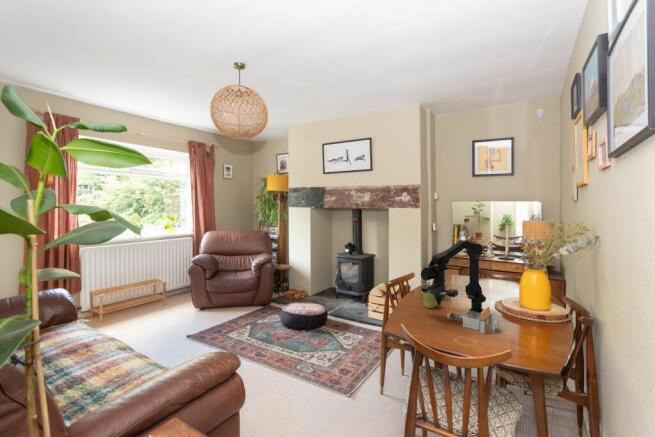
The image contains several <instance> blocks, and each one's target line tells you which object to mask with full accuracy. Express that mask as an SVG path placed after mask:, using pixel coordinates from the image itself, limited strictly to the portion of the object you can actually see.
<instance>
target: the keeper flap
mask: <svg viewBox="0 0 655 437" xmlns="http://www.w3.org/2000/svg"><path fill="white" fill-rule="evenodd" d="M483 309H484V310H483V311H482V312H481V317H482V321H485V322H487V321H488V318H489V317H490V316H491V315H490V314H491V309H490V306H487V307H485V308H483Z"/></svg>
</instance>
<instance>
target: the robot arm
mask: <svg viewBox="0 0 655 437" xmlns="http://www.w3.org/2000/svg"><path fill="white" fill-rule="evenodd" d="M463 250H466V254H467V256H468V258H469V261H468V262H469V267H468V268H469V278H468V279H469V282H468V284H467V285H466V284H465V286H464V288H465V291H464V292H465V294H466V296H467V299H469V300H470V308H469V309H468V310H469V311H472V312H477V313H481V312H482V311H483V310H484V309H485V308H483V303H484V302H486V301H487V297H486V296H485V295H484V293H483V290H482V289H483V288H482V286H481V284H480V282H479V281H480V258H481V256H482V254H483V245H482V244H481V243H478V242H470V241H468V240H465V239H464V240H463V239H460V240H458V242H456V243H455V244H453V245H452V246H450V247H449V248H447V249H446V250H445V251H442V252H439V253H436V254H434V255H433V256H432V257H431V260H430V261H429V264H428V265H427V266H423V268H422V269H421V272H420V278H421V279H422V280H423V281H430V279H434V280H433V283H432V285H427V284H424V285H422V286H421V289H420V291H421V293H422V292H427V291H428V290H429V291H430V294H432V295H433V296H434V297H435V299H436V304H437V306H438V307H441V305H442V303H443V300H444V299H445V298H446V296H447V297H451V298H456V297H457V296H459V291H458V290H457V289H453V288H450V289H446V271H448V270H449V268H448V267H447V265H448V264H449V263H450V261H451V259H452V258H453V257H455V256H457V255H458V254H459V253H460V252H462V251H463ZM469 311H468V312H469Z"/></svg>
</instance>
